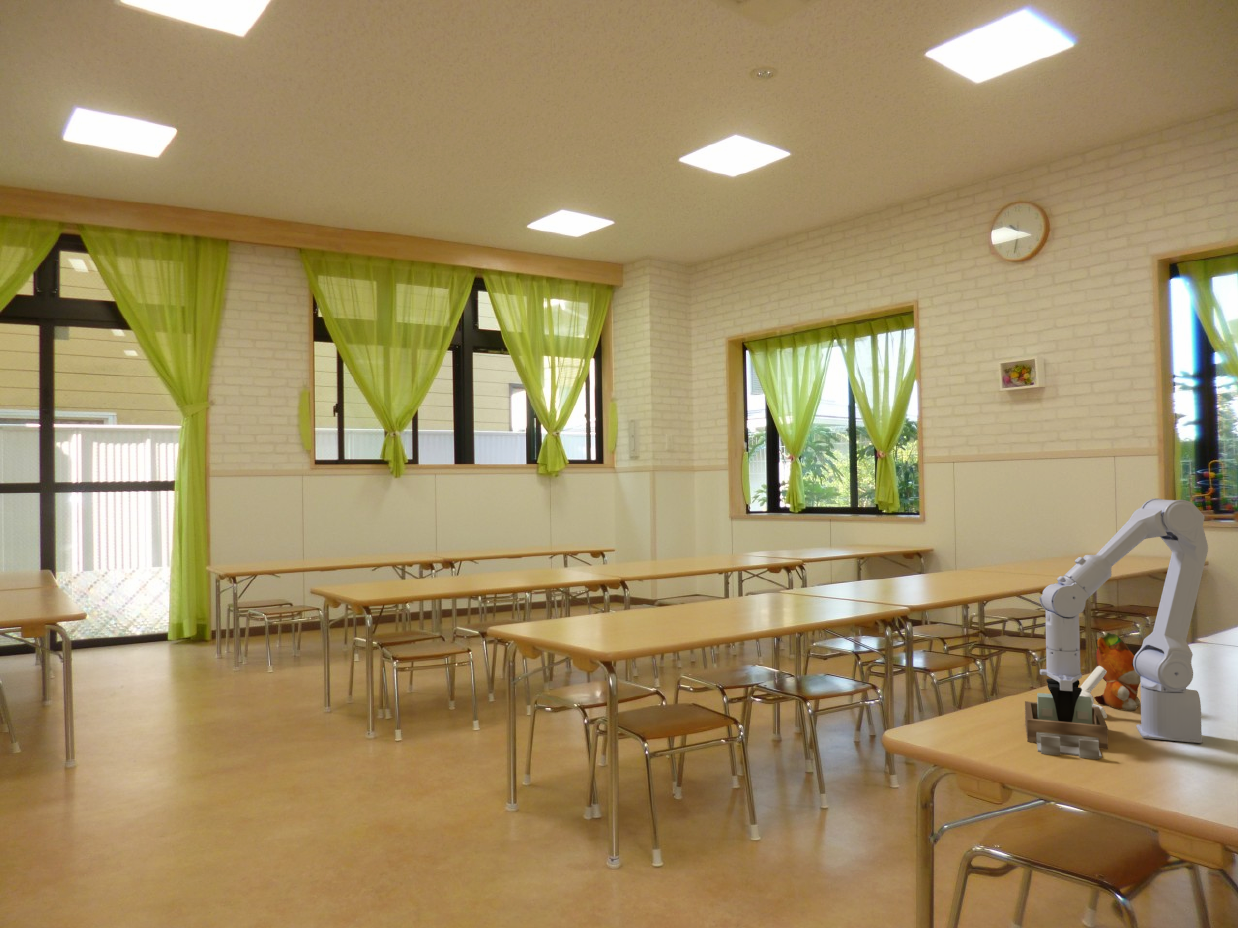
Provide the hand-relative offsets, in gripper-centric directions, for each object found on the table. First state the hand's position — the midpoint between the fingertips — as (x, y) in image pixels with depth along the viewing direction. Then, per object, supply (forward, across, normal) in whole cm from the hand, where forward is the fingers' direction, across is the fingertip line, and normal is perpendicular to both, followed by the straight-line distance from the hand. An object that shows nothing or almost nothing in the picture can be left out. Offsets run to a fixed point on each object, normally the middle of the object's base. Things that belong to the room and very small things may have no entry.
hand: (1064, 720), depth 166 cm
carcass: (+3, +3, 0) cm, 4 cm away
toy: (+3, -27, +12) cm, 30 cm away
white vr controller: (+3, -17, +5) cm, 18 cm away
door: (+2, 0, 0) cm, 2 cm away
